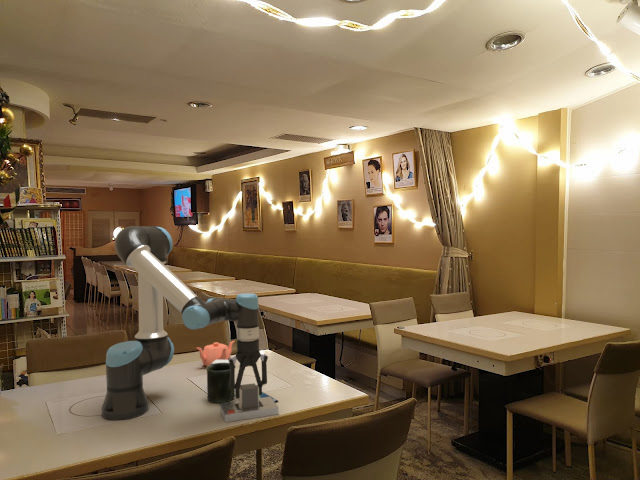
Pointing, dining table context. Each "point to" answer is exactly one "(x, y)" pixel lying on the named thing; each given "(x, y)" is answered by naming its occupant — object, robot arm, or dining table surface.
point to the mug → (219, 383)
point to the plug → (249, 396)
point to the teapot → (215, 352)
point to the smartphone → (267, 396)
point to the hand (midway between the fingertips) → (248, 405)
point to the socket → (248, 410)
